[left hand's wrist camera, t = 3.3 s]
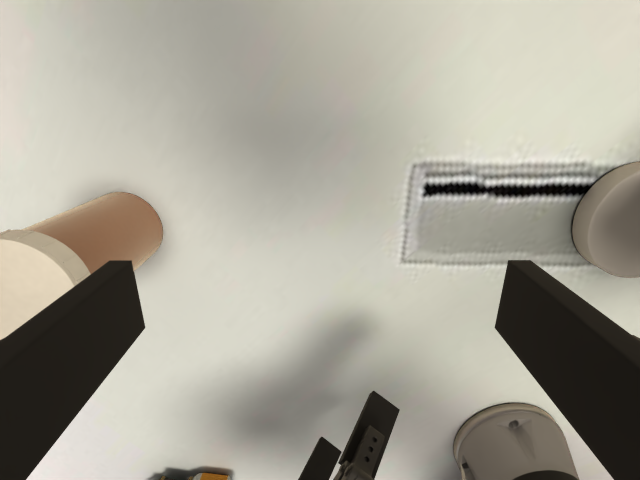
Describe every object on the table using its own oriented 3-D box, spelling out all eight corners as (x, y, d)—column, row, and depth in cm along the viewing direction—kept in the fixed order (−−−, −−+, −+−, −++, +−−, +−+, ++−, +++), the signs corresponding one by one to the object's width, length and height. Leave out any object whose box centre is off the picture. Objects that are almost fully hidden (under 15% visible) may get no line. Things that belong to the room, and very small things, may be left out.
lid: (118, 316, 29) (104, 331, 27) (21, 346, 30) (1, 362, 28) (54, 213, 26) (34, 222, 24) (-51, 250, 27) (-79, 261, 25)
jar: (175, 248, 42) (99, 324, 28) (112, 269, 43) (7, 352, 29) (141, 181, 40) (36, 226, 25) (74, 205, 40) (-64, 261, 26)
